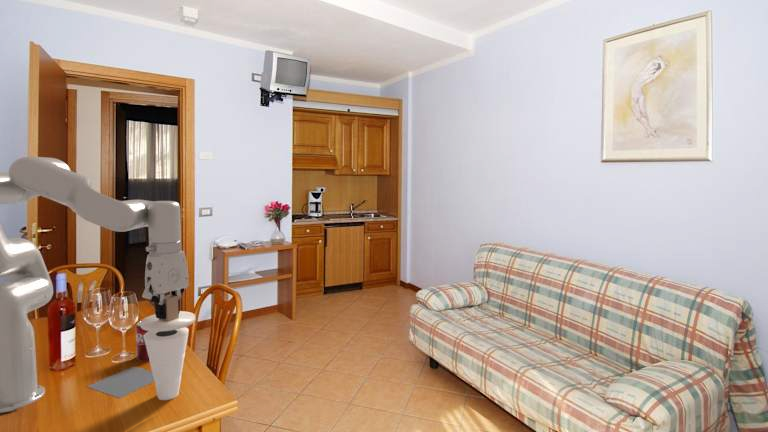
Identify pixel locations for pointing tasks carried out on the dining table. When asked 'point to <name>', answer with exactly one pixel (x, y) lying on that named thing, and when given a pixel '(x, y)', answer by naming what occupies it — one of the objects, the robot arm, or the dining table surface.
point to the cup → (167, 360)
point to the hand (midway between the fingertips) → (167, 315)
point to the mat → (124, 382)
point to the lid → (168, 317)
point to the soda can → (141, 344)
